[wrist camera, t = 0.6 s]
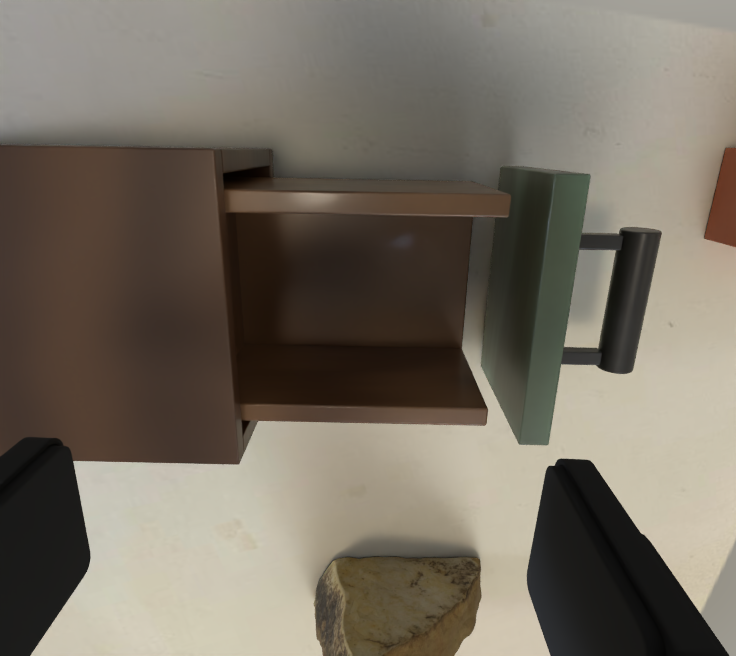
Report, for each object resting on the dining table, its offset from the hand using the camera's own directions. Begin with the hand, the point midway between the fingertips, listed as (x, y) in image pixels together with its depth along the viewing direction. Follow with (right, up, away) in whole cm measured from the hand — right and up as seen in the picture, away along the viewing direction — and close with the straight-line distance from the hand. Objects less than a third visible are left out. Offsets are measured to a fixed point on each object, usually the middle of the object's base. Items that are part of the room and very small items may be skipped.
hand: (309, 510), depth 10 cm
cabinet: (-11, +7, +17) cm, 22 cm away
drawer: (+3, +6, +16) cm, 18 cm away
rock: (+3, -13, +24) cm, 27 cm away
